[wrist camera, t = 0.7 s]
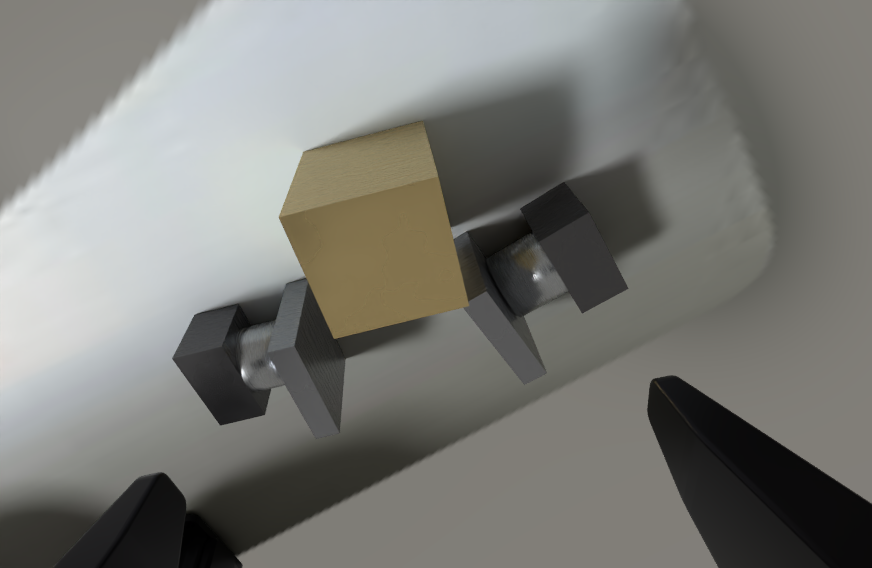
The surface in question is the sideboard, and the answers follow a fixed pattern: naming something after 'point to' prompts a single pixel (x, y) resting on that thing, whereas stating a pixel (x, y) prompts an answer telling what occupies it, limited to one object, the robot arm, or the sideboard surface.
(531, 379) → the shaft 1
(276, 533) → the sideboard surface
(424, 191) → the block
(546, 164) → the sideboard surface
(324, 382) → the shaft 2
